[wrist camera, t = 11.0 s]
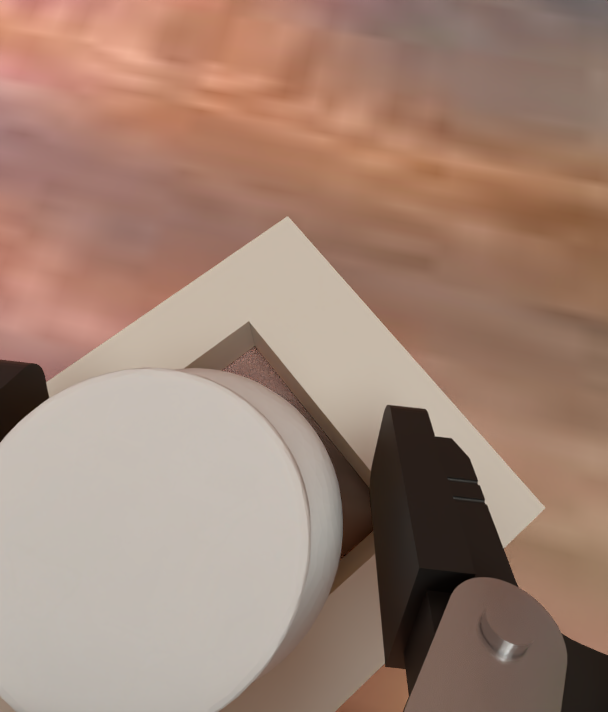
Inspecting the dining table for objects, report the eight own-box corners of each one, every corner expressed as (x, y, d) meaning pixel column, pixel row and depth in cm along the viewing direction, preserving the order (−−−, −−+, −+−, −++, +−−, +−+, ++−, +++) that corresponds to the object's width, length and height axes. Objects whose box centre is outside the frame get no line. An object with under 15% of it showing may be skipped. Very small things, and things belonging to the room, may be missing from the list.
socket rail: (287, 254, 17) (287, 216, 14) (503, 504, 15) (545, 508, 12) (-516, 823, 12) (-719, 908, 9) (-361, 1317, 10) (-572, 1587, 7)
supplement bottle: (114, 560, 14) (-236, 715, 5) (187, 394, 15) (30, 254, 6) (283, 627, 14) (273, 939, 4) (342, 451, 15) (431, 397, 6)
